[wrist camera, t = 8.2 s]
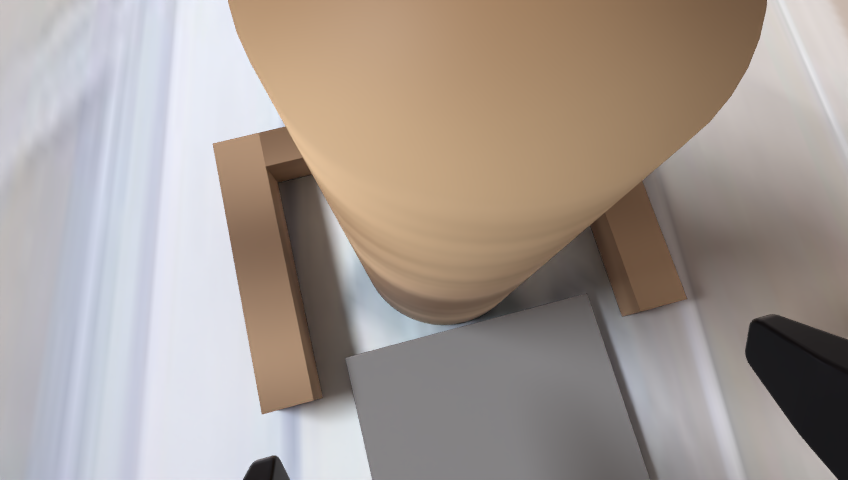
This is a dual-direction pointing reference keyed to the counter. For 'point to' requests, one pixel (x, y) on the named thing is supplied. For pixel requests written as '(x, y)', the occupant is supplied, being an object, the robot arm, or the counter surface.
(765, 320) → the robot arm
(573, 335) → the slate mat
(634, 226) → the walnut frame
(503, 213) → the pepper mill
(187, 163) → the counter surface
